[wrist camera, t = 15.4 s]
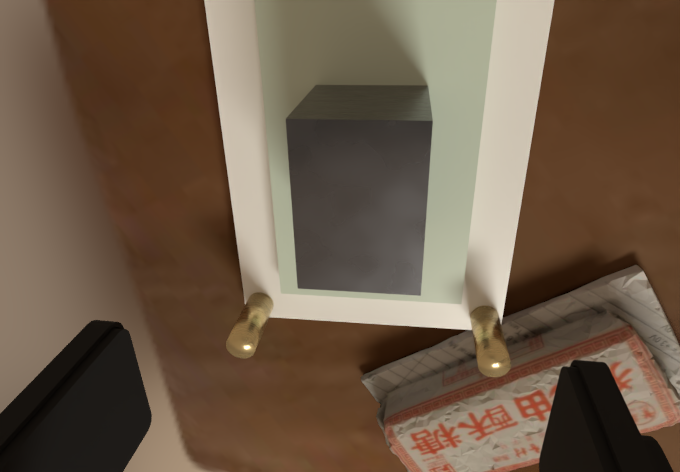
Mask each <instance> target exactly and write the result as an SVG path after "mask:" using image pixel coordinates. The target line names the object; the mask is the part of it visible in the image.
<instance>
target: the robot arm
mask: <svg viewBox="0 0 680 472" xmlns="http://www.w3.org/2000/svg"><path fill="white" fill-rule="evenodd" d="M150 424H151V410H150V407H149V403H148V399H147V396H146V392H145V389H144V385H143V381H142V377H141V374H140V370H139V366H138V362H137V359H136V355H135V351H134V348H133V344H132V340H131V337H130V334H129V331H128V330H126V329H124V328H123V326H122V324H121V323H119V322H111V321H100V320H94V321H91V322H90V323H89V324H87V325H86V326H85V328H84V329H82V331H81V332H80V333H79V334H78V335H77V336H76V337H75V338H74V339H73V340H72V341H71V342H70V343H69V344H68V345H67V346H66V347H65V348H64V349H63V350H62V351H61V352H60V353H59V354H58V355H57V356H56V357H55V358H54V359H53V360H52V361H51V362H50V363H49V364H48V365H47V366H46V368H44V370H43V371H42V372H41V373H40V374H39V375H38V376H37V377H36V378H35V379H34V380H33V381H32V382H31V383H30V384H29V385H28V386H27V387H26V388H25V389H24V390H23V391H22V392H21V393H20V394H19V395H18V396H17V397H16V398H15V399H14V400H13V401H12V402H11V403H10V404H9V405H8V406H7V407H6V409H4V411H3V412H2V413H1V414H0V472H123V471H124V469H125V467H126V466H127V464H128V462H129V461H130V459H131V458H132V456H133V454H134V453H135V451H136V449H137V448H138V446H139V444H140V443H141V441H142V440H143V438H144V436H145V435H146V433H147V431H148V429H149V427H150ZM539 471H540V472H673V470H672V468H671V466H670V464H669V462H668V460H667V458H666V456H665V454H664V452H663V450H662V448H661V447H660V445H659V444H658V442H657V441H656V440H655V439H654V438H653V437H651V436H644V435H641V434H640V432H639V430H638V428H637V426H636V424H635V421H634V419H633V417H632V415H631V413H630V411H629V409H628V407H627V405H626V402H625V400H624V398H623V396H622V394H621V392H620V390H619V388H618V386H617V383H616V381H615V379H614V377H613V375H612V373H611V371H610V369H609V367H608V365H607V364H606V363H604V362H596V361H584V360H573V361H572V363H571V365H570V367H567V366H563V367H562V368H561V371H560V375H559V379H558V383H557V387H556V391H555V395H554V400H553V404H552V408H551V412H550V416H549V420H548V424H547V428H546V433H545V437H544V441H543V445H542V449H541V453H540V458H539Z"/></svg>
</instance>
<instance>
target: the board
mask: <svg viewBox="0 0 680 472" xmlns="http://www.w3.org/2000/svg"><path fill="white" fill-rule="evenodd" d="M254 2H255V13H256V24H257V35H258V46H259V57H260V68H261V79H262V90H263V101H264V112H265V123H266V135H267V146H268V157H269V168H270V179H271V190H272V201H273V212H274V223H275V234H276V245H277V256H278V268H279V279H280V290H281V293H282V294H298V295H315V296H332V297H349V298H365V299H382V300H399V301H415V302H432V303H449V304H462V295H463V287H464V278H465V269H466V261H467V252H468V243H469V235H470V226H471V218H472V209H473V200H474V192H475V183H476V174H477V166H478V157H479V149H480V140H481V131H482V123H483V114H484V105H485V97H486V88H487V80H488V71H489V62H490V54H491V45H492V36H493V28H494V19H495V11H496V2H497V0H254Z"/></svg>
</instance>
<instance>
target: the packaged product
mask: <svg viewBox="0 0 680 472" xmlns="http://www.w3.org/2000/svg"><path fill="white" fill-rule="evenodd" d="M501 326H502V330H503V334H504V338H505V342H506V346H507V350H508V354H509V358H510V362H511V368H510V370H509V371H508V372H507V373H506V374H505V375H503V376H500V377H488V376H486V375H484V374H482V373H481V372H480V370H479V368H478V363H477V357H476V351H475V345H474V339H473V333H472V330H467V331H465V332H463V333H461V334H459V335H455V336H453V337H451V338H449V339H447V340H445V341H443V342H441V343H439V344H437V345H435V346H433V347H430V348H427V349H424V350H422V351H419V352H417V353H414V354H412V355H410V356H407V357H405V358H402V359H400V360H397V361H394V362H392V363H389V364H387V365H384V366H382V367H380V368H378V369H376V370H373V371H371V372H369V373H366V374H364V375H363V376H362V377H361V381H362V382H363V383H364V384H365V386H366V387H367V388H368V390H369V391H370V393H371V394H372V395H373V397H374V398H375V399H376V400H377V402H379V403H380V404H381V405H380V408H378V413H377V416H376V417H377V420H378V424H379V426H380V427H381V428H382V430H383V433H384V435H385V438H386V444H387V445H388V446H389V448H390V450H391V451H392V452H393V454H396V455H397V456H398V457H399V458H400V460H401V462H402V463H403V464H404V465H405V467H406V469H407V471H408V472H507V471H511V470H515V469H517V468H521V467H526V466H530V465H533V464H536V463H539V458H540V453H541V449H542V445H543V441H544V437H545V433H546V428H547V424H548V420H549V416H550V412H551V408H552V404H553V400H554V395H555V391H556V387H557V383H558V379H559V375H560V371H561V368H562V367H563V366H567V367H570V365H571V363H572V361H573V360H584V361H596V362H604V363H606V364H607V365H608V367H609V369H610V371H611V373H612V375H613V377H614V379H615V381H616V383H617V386H618V388H619V390H620V392H621V394H622V396H623V398H624V400H625V402H626V405H627V407H628V409H629V411H630V413H631V415H632V417H633V419H634V421H635V424H636V426H637V428H638V430H639V432H640V433H645V432H650V431H654V430H658V429H660V428H662V427H667V426H672V425H674V424H676V423H678V422H680V345H679V343H678V341H677V339H676V336H675V334H674V332H673V330H672V327H671V325H670V323H669V321H668V319H667V317H666V315H665V313H664V311H663V309H662V307H661V305H660V303H659V301H658V298H657V296H656V294H655V292H654V291H653V289H652V287H651V285H650V283H649V281H648V279H647V277H646V275H645V273H644V272H643V270H642V269H641V268H640V267H639V266H638V265H634V266H631V267H629V268H626V269H623V270H621V271H618V272H615V273H613V274H610V275H607V276H604V277H602V278H600V279H598V280H595V281H593V282H591V283H589V284H587V285H584V286H582V287H580V288H578V289H576V290H573V291H571V292H569V293H567V294H564V295H561V296H558V297H555V298H552V299H550V300H548V301H546V302H543V303H540V304H538V305H535V306H532V307H530V308H527V309H524V310H522V311H519V312H516V313H514V314H511V315H509V316H506V317H503V318H502V324H501Z"/></svg>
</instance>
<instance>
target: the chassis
mask: <svg viewBox="0 0 680 472" xmlns="http://www.w3.org/2000/svg"><path fill="white" fill-rule="evenodd" d="M204 2H205V9H206V17H207V24H208V31H209V39H210V46H211V54H212V61H213V69H214V76H215V84H216V91H217V98H218V106H219V113H220V121H221V128H222V136H223V143H224V150H225V158H226V165H227V173H228V180H229V188H230V195H231V203H232V210H233V217H234V225H235V232H236V240H237V247H238V255H239V262H240V270H241V277H242V284H243V292H244V299H245V306H244V308H243V310H242V312H241V314H240V316H239V318H238V320H237V322H236V324H235V326H234V328H233V330H232V332H231V334H230V335H229V337H228V339H227V342H226V347H227V349H228V351H229V352H230V353H231V354H232V355H234V356H236V357H238V358H249V357H251V356H252V355H253V354H254V352H255V350H256V348H257V345H258V343H259V340H260V338H261V336H262V333H263V331H264V329H265V326H266V324H267V321H268V319H269V317H276V318H292V319H307V320H323V321H338V322H353V323H369V324H384V325H400V326H415V327H431V328H446V329H462V330H472V333H473V339H474V345H475V351H476V357H477V363H478V368H479V370H480V372H481V373H482V374H484V375H486V376H488V377H500V376H503V375H505V374H506V373H507V372H508V371H509V370H510V368H511V362H510V358H509V354H508V350H507V346H506V342H505V338H504V334H503V330H502V326H501V324H502V318H503V311H504V305H505V299H506V293H507V287H508V281H509V275H510V269H511V262H512V256H513V250H514V244H515V238H516V232H517V226H518V220H519V214H520V207H521V201H522V195H523V189H524V183H525V177H526V171H527V165H528V158H529V152H530V146H531V140H532V134H533V128H534V122H535V116H536V109H537V103H538V97H539V91H540V85H541V79H542V73H543V67H544V60H545V54H546V48H547V42H548V36H549V30H550V24H551V18H552V11H553V5H554V0H497V2H496V11H495V19H494V28H493V36H492V45H491V54H490V62H489V71H488V80H487V88H486V97H485V105H484V114H483V123H482V131H481V140H480V149H479V157H478V166H477V174H476V183H475V192H474V200H473V209H472V218H471V226H470V235H469V243H468V252H467V261H466V269H465V278H464V287H463V295H462V304H449V303H432V302H415V301H399V300H382V299H365V298H349V297H332V296H315V295H298V294H282V293H281V290H280V279H279V268H278V256H277V245H276V234H275V223H274V212H273V201H272V190H271V179H270V168H269V157H268V146H267V135H266V123H265V112H264V101H263V90H262V79H261V68H260V57H259V46H258V35H257V24H256V13H255V2H254V0H204Z"/></svg>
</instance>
